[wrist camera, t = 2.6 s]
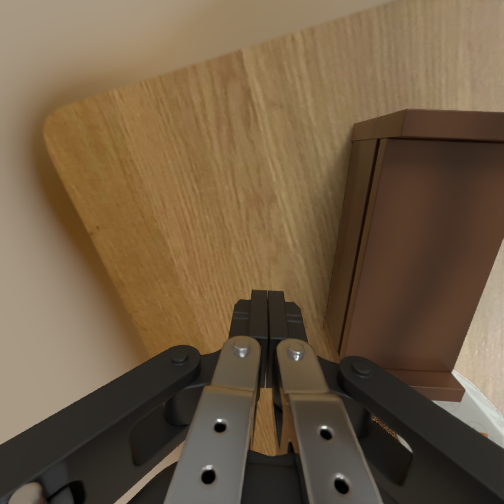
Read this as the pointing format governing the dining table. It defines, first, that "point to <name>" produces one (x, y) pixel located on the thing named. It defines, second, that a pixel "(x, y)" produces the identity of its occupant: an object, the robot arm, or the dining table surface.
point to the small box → (474, 412)
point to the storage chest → (417, 242)
